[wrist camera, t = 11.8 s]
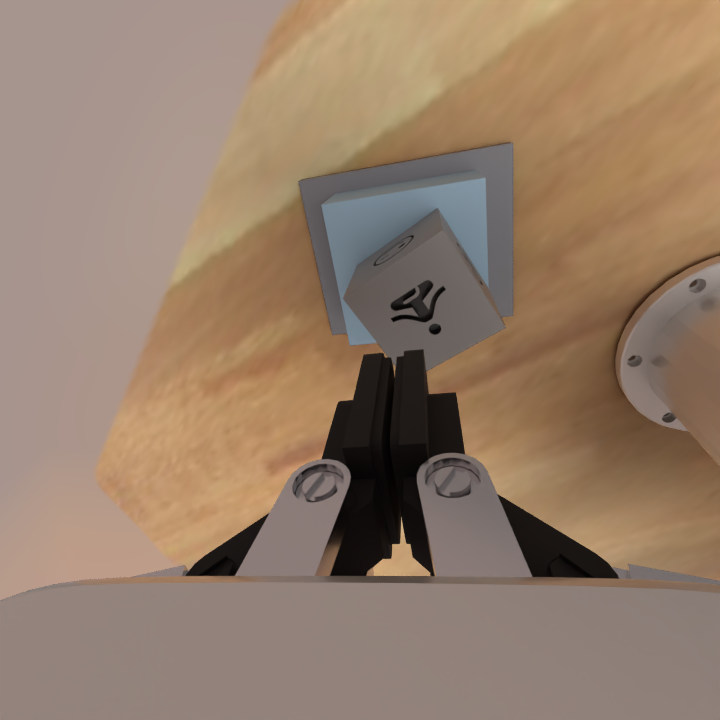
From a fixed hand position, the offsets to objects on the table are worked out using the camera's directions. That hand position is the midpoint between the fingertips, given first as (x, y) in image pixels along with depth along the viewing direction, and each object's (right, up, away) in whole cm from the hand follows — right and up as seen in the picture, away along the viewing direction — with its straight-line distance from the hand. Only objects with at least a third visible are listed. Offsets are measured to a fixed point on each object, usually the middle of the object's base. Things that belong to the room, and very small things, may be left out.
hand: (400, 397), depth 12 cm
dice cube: (+2, +6, +11) cm, 12 cm away
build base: (+2, +8, +15) cm, 17 cm away
